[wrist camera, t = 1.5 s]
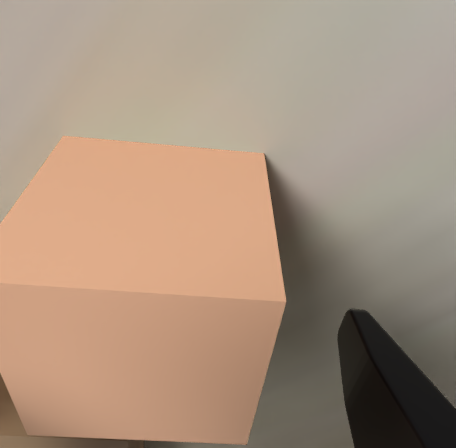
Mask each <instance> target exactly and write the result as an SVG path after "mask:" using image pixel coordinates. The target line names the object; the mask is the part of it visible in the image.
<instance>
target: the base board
mask: <svg viewBox="0 0 456 448" xmlns="http://www.w3.org/2000/svg"><path fill="white" fill-rule="evenodd" d="M0 448H144V440H128V439H105V438H82V437H59V436H36V435H27V433H26V431H25V428H24V426H23V424H22V422H21V419H20V417H19V415H18V412H17V410H16V408H15V406H14V403H13V401H12V399H11V396H10V394H9V392H8V390H7V387H6V385H5V383H4V380H3V378H2V376H1V374H0Z"/></svg>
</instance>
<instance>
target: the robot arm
mask: <svg viewBox="0 0 456 448" xmlns="http://www.w3.org/2000/svg"><path fill="white" fill-rule="evenodd" d="M338 348H339V357H340V366H341V375H342V384H343V393H344V400H345V406H346V411H347V416H348V420H349V425H350V429H351V434H352V438H353V443H354V447H355V448H456V409H455V408H454V407H453V406H452V404H451V403H450V402H449V401H448V400H447V399H446V398H445V397H444V396H443V394H442V393H441V392H440V391H439V390H438V389H437V388H436V387H435V386H434V384H433V383H432V382H431V381H430V380H429V379H428V378H427V377H426V376H425V375H424V373H423V372H422V371H421V370H420V369H419V368H418V367H417V366H416V365H415V363H414V362H413V361H412V360H411V359H410V358H409V357H408V356H407V355H406V353H405V352H404V351H403V350H402V349H401V348H400V347H399V346H398V345H397V343H396V342H395V341H394V340H393V339H392V338H391V337H390V336H389V335H388V333H387V332H386V331H385V330H384V329H383V328H382V327H381V326H380V325H379V324H378V322H377V321H376V320H375V319H374V318H373V317H372V316H371V315H370V314H369V313H368V312H367V311H366V310H360V309H349V310H348V311H347V312H346V314H345V316H344V319H343V321H342V323H341V326H340V328H339V331H338Z"/></svg>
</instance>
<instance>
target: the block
mask: <svg viewBox="0 0 456 448" xmlns="http://www.w3.org/2000/svg"><path fill="white" fill-rule="evenodd" d="M285 305H286V296H285V289H284V283H283V276H282V269H281V263H280V256H279V249H278V242H277V236H276V229H275V222H274V216H273V209H272V202H271V195H270V189H269V182H268V175H267V169H266V162H265V155H264V153H253V152H242V151H230V150H219V149H207V148H196V147H185V146H173V145H162V144H151V143H139V142H128V141H116V140H105V139H94V138H82V137H71V136H63V137H62V138H61V140H60V141H59V143H58V144H57V145H56V147H55V148H54V150H53V151H52V152H51V154H50V155H49V157H48V158H47V159H46V161H45V162H44V164H43V165H42V166H41V168H40V169H39V171H38V172H37V173H36V175H35V176H34V178H33V179H32V180H31V182H30V183H29V185H28V186H27V187H26V189H25V190H24V191H23V193H22V194H21V196H20V197H19V198H18V200H17V201H16V203H15V204H14V205H13V207H12V208H11V210H10V211H9V212H8V214H7V215H6V217H5V218H4V219H3V221H2V222H1V224H0V374H1V376H2V378H3V380H4V383H5V385H6V387H7V390H8V392H9V394H10V396H11V399H12V401H13V403H14V406H15V408H16V410H17V412H18V415H19V417H20V419H21V422H22V424H23V426H24V428H25V431H26V433H27V435H36V436H59V437H82V438H105V439H128V440H151V441H174V442H197V443H220V444H243V445H247V442H248V438H249V435H250V431H251V428H252V424H253V420H254V417H255V413H256V410H257V406H258V402H259V399H260V395H261V392H262V388H263V384H264V381H265V377H266V373H267V370H268V366H269V363H270V359H271V355H272V352H273V348H274V345H275V341H276V337H277V334H278V330H279V327H280V323H281V319H282V316H283V312H284V309H285Z"/></svg>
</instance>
